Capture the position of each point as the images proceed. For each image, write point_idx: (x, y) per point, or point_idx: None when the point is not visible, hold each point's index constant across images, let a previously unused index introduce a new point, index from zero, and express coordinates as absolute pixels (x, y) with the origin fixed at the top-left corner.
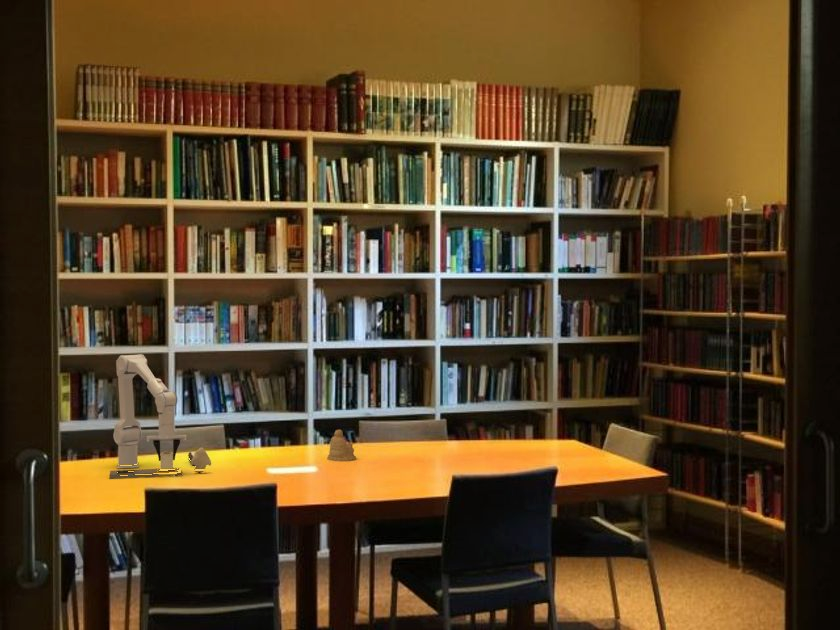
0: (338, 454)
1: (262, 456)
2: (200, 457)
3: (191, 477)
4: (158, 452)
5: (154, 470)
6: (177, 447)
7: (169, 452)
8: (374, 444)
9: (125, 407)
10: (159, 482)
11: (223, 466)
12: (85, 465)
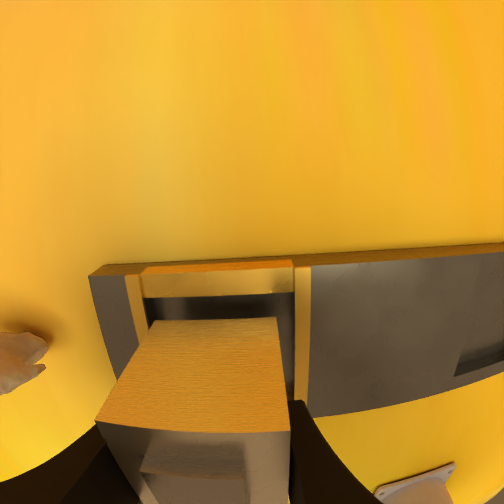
0: None
1: None
2: None
3: (41, 197)
4: (326, 471)
5: (327, 367)
6: (14, 479)
7: (149, 468)
8: None
9: None
10: (267, 15)
11: (17, 438)
12: (496, 475)
